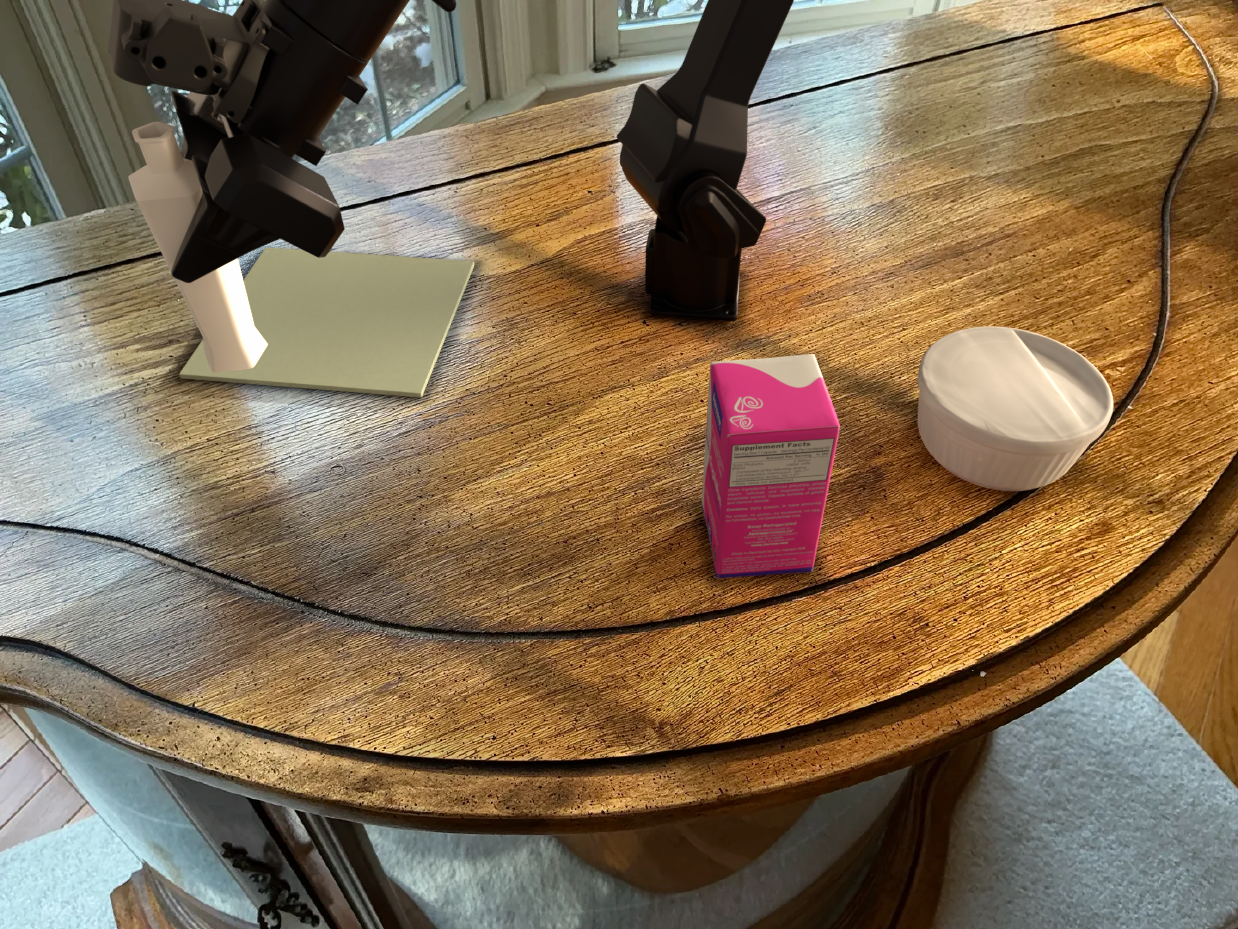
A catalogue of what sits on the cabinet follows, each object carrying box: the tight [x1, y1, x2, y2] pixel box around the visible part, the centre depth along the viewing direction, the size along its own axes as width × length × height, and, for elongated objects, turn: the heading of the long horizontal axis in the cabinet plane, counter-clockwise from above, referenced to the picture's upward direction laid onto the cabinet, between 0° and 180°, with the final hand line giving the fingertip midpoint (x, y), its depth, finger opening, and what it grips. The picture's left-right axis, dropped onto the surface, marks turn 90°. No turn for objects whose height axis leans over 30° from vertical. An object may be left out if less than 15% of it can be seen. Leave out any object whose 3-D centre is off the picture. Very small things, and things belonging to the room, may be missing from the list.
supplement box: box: [701, 353, 841, 580], centre depth 53 cm, size 6×6×12 cm
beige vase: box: [127, 121, 268, 373], centre depth 57 cm, size 5×4×15 cm
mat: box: [178, 247, 475, 398], centre depth 72 cm, size 17×16×1 cm
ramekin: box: [917, 325, 1114, 492], centre depth 61 cm, size 11×11×5 cm
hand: (173, 256), depth 56 cm, fingers closed on beige vase, 4 cm apart
